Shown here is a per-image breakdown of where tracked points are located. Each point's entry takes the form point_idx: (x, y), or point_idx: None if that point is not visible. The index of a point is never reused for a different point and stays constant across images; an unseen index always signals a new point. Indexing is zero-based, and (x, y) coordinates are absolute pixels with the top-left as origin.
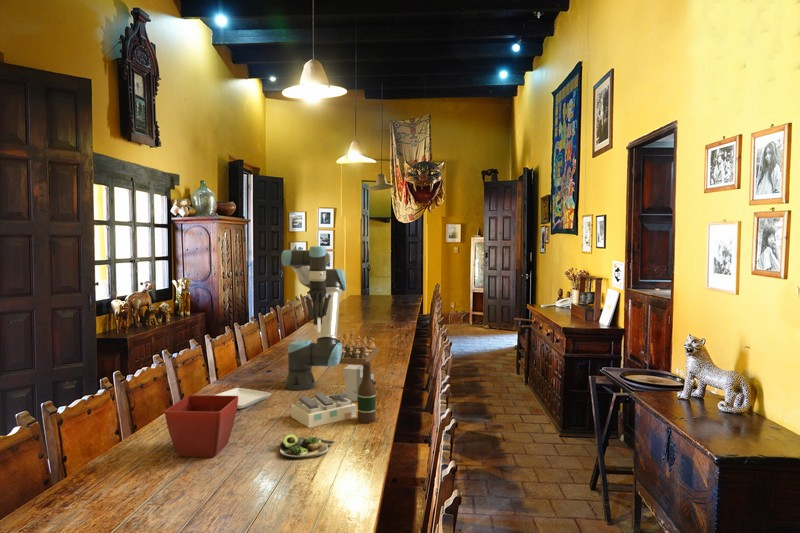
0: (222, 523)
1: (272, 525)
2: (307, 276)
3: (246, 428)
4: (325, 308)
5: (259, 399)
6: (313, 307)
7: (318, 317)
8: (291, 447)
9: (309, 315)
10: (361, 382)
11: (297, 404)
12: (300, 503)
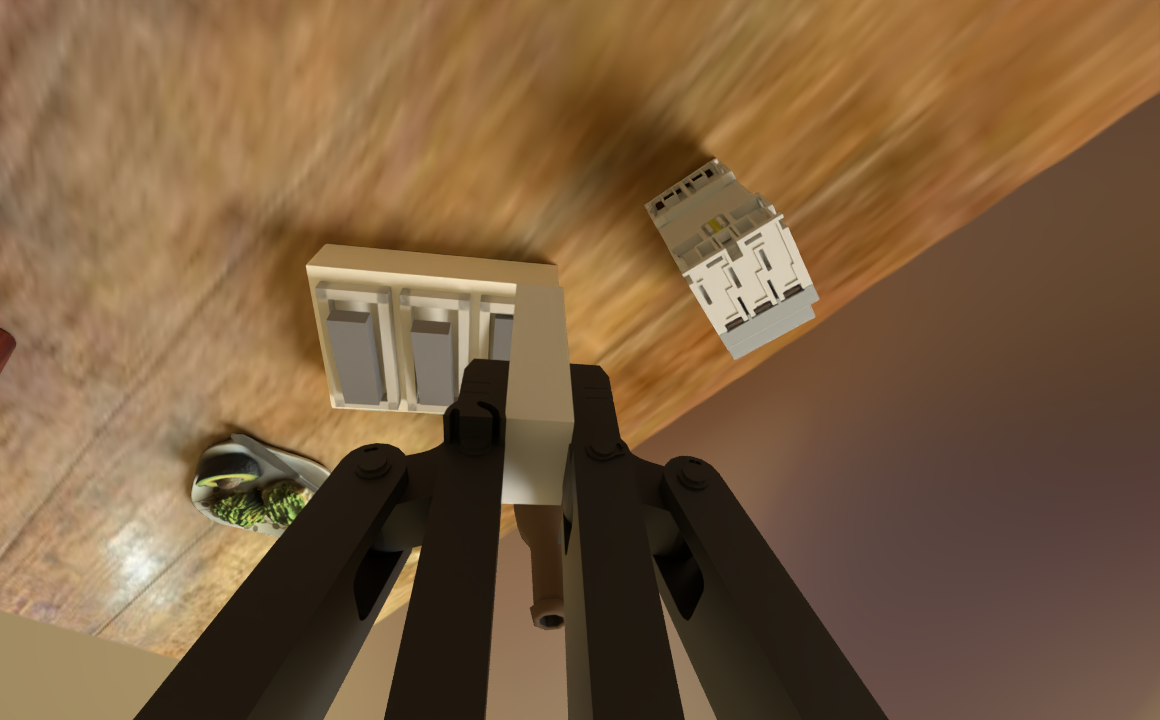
0: (41, 617)
1: (133, 645)
2: None
3: (99, 243)
4: (710, 681)
5: None
6: (402, 678)
7: (555, 461)
8: (222, 502)
9: (346, 461)
10: (535, 528)
11: (320, 311)
12: (195, 626)
